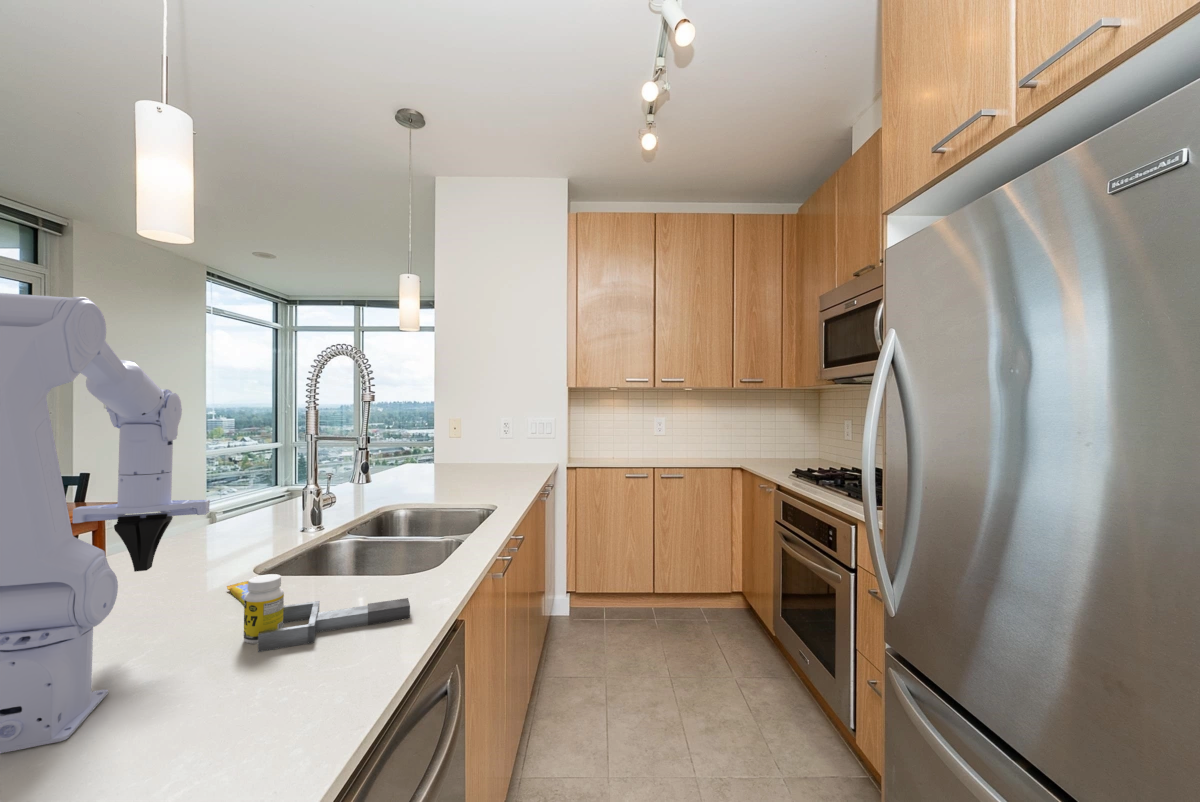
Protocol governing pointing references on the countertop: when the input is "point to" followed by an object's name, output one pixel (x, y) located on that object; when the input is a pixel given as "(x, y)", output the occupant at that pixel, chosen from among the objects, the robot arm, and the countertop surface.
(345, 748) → the countertop surface
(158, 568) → the countertop surface
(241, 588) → the candy bar
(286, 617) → the open-end wrench
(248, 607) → the supplement bottle
